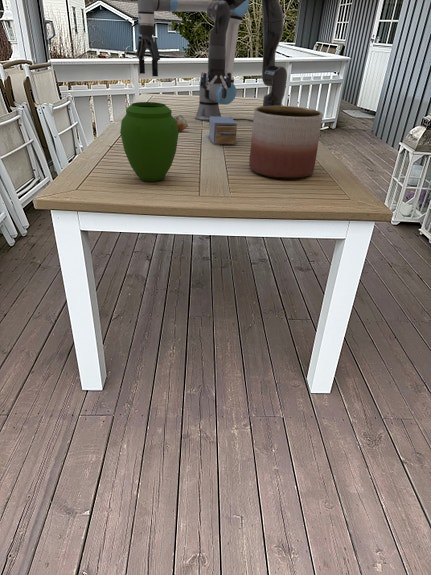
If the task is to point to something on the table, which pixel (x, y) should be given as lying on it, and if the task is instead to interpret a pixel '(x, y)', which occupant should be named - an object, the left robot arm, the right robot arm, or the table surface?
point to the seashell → (181, 122)
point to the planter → (284, 141)
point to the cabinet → (218, 121)
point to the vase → (149, 139)
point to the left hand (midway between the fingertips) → (148, 75)
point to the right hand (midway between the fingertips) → (215, 98)
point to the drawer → (226, 134)
